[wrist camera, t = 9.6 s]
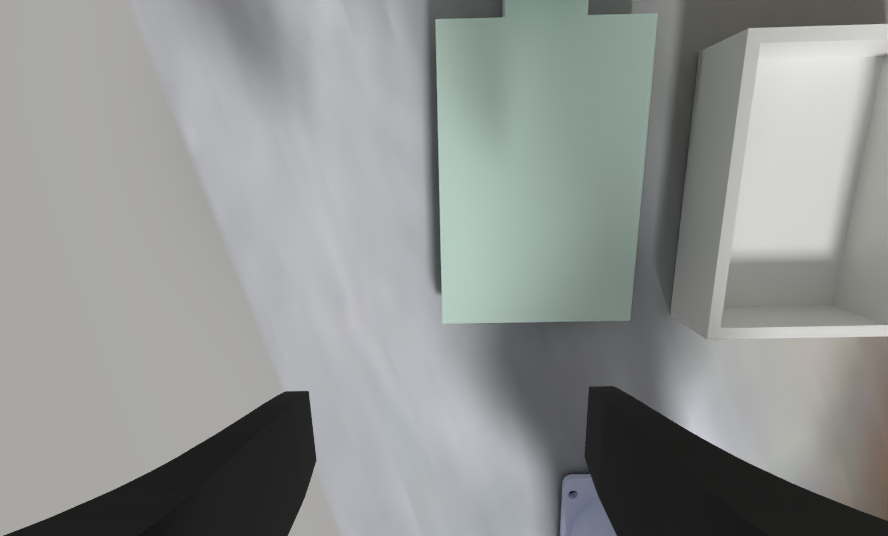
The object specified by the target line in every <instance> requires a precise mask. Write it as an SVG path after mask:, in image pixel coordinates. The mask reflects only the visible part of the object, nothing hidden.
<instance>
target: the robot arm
mask: <svg viewBox="0 0 888 536" xmlns="http://www.w3.org/2000/svg"><path fill="white" fill-rule="evenodd" d="M585 459H586V462H587V465H588V468H589V471H590V474H571V475H568V476H566V477H565V478H564V479H563V482H562V501H561V521H560V536H888V521H886V520H883V519H881V518H878V517H875V516H872V515H870V514H867V513H864V512H861V511H859V510H856V509H854V508H851V507H849V506H846V505H844V504H841V503H839V502H836V501H834V500H831V499H828V498H826V497H823V496H821V495H818V494H816V493H813V492H811V491H809V490H806V489H804V488H802V487H799V486H797V485H795V484H792V483H790V482H788V481H786V480H783V479H781V478H779V477H777V476H775V475H773V474H771V473H768V472H766V471H764V470H762V469H760V468H758V467H756V466H753V465H751V464H749V463H747V462H745V461H743V460H741V459H739V458H737V457H735V456H733V455H731V454H730V453H728V452H726V451H724V450H722V449H720V448H719V447H717V446H715V445H713V444H711V443H709V442H707V441H706V440H704V439H702V438H700V437H698V436H697V435H695V434H693V433H691V432H690V431H688V430H686V429H685V428H683V427H681V426H680V425H678V424H676V423H675V422H673V421H671V420H670V419H668V418H666V417H665V416H663V415H661V414H660V413H658V412H656V411H655V410H653V409H652V408H650V407H648V406H647V405H645V404H643V403H642V402H640V401H639V400H637V399H635V398H634V397H632V396H630V395H629V394H627V393H625V392H623V391H622V390H620V389H618V388H616V387H614V386H605V387H589V397H588V413H587V428H586V444H585ZM315 463H316V453H315V444H314V435H313V426H312V417H311V408H310V400H309V391H290V392H283V393H282V394H280V395H278V396H276V397H274V398H273V399H271V400H269V401H268V402H266V403H264V404H263V405H261V406H260V407H258V408H257V409H255V410H253V411H252V412H250V413H249V414H247V415H246V416H244V417H242V418H241V419H240V420H238V421H236V422H235V423H233V424H231V425H230V426H228V427H227V428H225V429H224V430H222V431H221V432H219V433H217V434H216V435H214V436H212V437H211V438H209V439H207V440H206V441H204V442H202V443H200V444H199V445H197V446H195V447H194V448H192V449H190V450H189V451H187V452H185V453H184V454H182V455H180V456H179V457H177V458H175V459H173V460H171V461H170V462H168V463H166V464H164V465H162V466H160V467H158V468H157V469H155V470H153V471H151V472H149V473H147V474H145V475H143V476H141V477H139V478H137V479H135V480H133V481H131V482H129V483H127V484H125V485H123V486H121V487H119V488H117V489H114V490H112V491H110V492H108V493H106V494H103V495H101V496H99V497H97V498H94V499H92V500H90V501H87V502H85V503H83V504H80V505H78V506H76V507H74V508H71V509H69V510H67V511H64V512H62V513H60V514H57V515H55V516H53V517H51V518H48V519H46V520H43V521H40V522H38V523H35V524H33V525H30V526H28V527H25V528H23V529H20V530H17V531H15V532H12V533H10V534H7V535H4V536H288V534H289V531H290V529H291V527H292V525H293V523H294V520H295V518H296V516H297V514H298V512H299V509H300V507H301V505H302V502H303V500H304V498H305V495H306V492H307V489H308V486H309V482H310V479H311V476H312V473H313V469H314V466H315ZM570 491H575V492H573V493H569V492H570Z"/></svg>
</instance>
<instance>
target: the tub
mask: <svg viewBox="0 0 888 536" xmlns="http://www.w3.org/2000/svg"><path fill="white" fill-rule="evenodd" d="M670 315H671V316H672V317H674V318H675V319H677V320H678V321H680V322H681V323H683V324H684V325H686V326H687V327H689V328H690V329H692V330H693V331H695V332H696V333H698V334H699V335H701V336H702V337H704V338H705V339H759V338H815V337H871V336H888V24H866V25H834V26H801V27H768V28H748V29H746V30H743V31H741V32H739V33H737V34H735V35H733V36H731V37H729V38H727V39H724V40H722V41H720V42H718V43H716V44H714V45H712V46H710V47H707V48H705V49H703V50H701V51H699V56H698V65H697V75H696V84H695V93H694V102H693V111H692V120H691V129H690V138H689V147H688V157H687V166H686V175H685V184H684V193H683V202H682V211H681V220H680V229H679V238H678V248H677V257H676V266H675V275H674V284H673V293H672V302H671V311H670Z"/></svg>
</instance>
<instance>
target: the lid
mask: <svg viewBox="0 0 888 536" xmlns="http://www.w3.org/2000/svg"><path fill="white" fill-rule="evenodd" d="M588 2H589V0H503V8H502V17H495V18H457V19H435V23H436V67H437V111H438V155H439V200H440V244H441V288H442V324H451V323H518V322H584V321H630V318H631V307H632V296H633V285H634V274H635V263H636V252H637V241H638V230H639V219H640V208H641V197H642V186H643V175H644V163H645V152H646V141H647V130H648V119H649V108H650V97H651V86H652V75H653V64H654V53H655V42H656V31H657V20H658V13H645V14H607V15H588Z"/></svg>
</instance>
